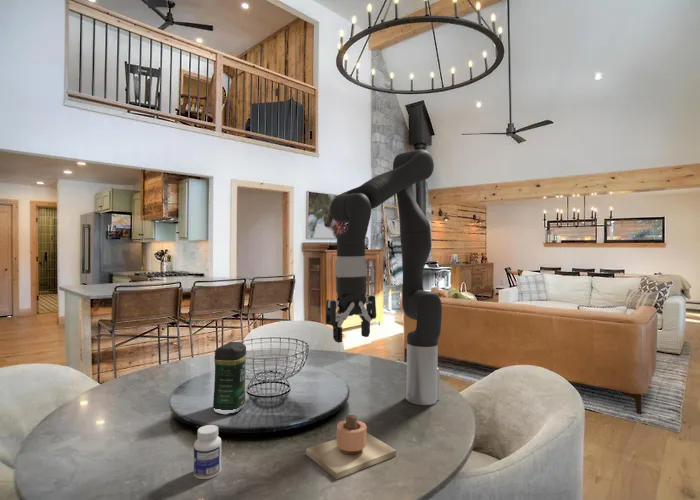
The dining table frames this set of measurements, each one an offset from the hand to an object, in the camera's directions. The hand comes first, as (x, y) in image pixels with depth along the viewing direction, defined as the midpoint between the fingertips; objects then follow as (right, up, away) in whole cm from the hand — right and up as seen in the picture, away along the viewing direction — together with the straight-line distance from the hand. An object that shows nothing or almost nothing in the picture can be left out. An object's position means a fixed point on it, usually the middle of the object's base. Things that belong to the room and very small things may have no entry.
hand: (352, 339), depth 101 cm
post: (0, -22, -11) cm, 25 cm away
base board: (0, -23, -11) cm, 26 cm away
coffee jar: (-34, -23, +13) cm, 43 cm away
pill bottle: (-29, -23, -19) cm, 42 cm away
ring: (0, -21, -11) cm, 24 cm away
